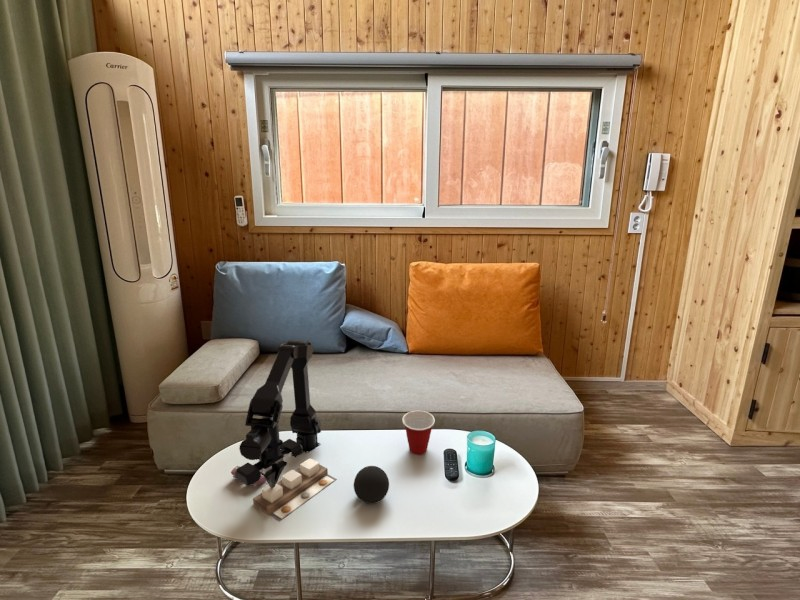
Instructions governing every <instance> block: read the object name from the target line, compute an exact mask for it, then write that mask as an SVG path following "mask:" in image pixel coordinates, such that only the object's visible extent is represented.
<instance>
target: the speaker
mask: <svg viewBox="0 0 800 600" xmlns="http://www.w3.org/2000/svg"><path fill="white" fill-rule="evenodd" d="M389 488H390V479H389V478H388V475H387V472H385V471H384V470H383V469H382V468H380V467H378V466H376V465H367V466H365V467H362V468H361V469H360V470H359V471H358V472H357V474H356V475H355V478H354V480H353V489H354V490H353V491H354V493H355V495H356V497H357V498H358V499H359V500H360V501H361V502H362V503H365V504H370V505H373V504H377V503H379V502H381V501H382V500H383V499H384V498H385V497H386V496H387V495H388V492H389Z"/></svg>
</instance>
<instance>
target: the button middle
mask: <svg viewBox="0 0 800 600" xmlns="http://www.w3.org/2000/svg"><path fill="white" fill-rule="evenodd" d="M281 480H282V485H284V486H285V487H287V488H289V489H290V490H292V489H294V488H295V487H296V486H298V485H299V484H301V483H302V475H301V474H300V473H298V472H296V470H294V469H290V470H288V472H285V473H284V474H283V475H281Z"/></svg>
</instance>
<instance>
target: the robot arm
mask: <svg viewBox="0 0 800 600" xmlns="http://www.w3.org/2000/svg"><path fill="white" fill-rule="evenodd" d="M313 347H314V346H313V344H312V342H311V341H309V340H298V339H289V340H287V342H285V343H281V344H280V345H279V346H278V348H277V354H276V357H275V358H274V362H273V364H272V366H271V369H270V371H269V373H268V376H267V378H266V380H265V383H264V384H262V385H261V386H260V387H259V388H257V389H256V391H255V393H254V394H253V396H252V398H251V399H250V401H249V405H248V410H247V415H246V419H245V423H244V425H245V426H246V427H250V429H251V430H250V431H249V432H247V433H246V434H245V437H244V439H243V440H242V441H241V443H240V444H239V452H240V453H239V454H240V455H241V456H242V457H243V458H245V459H247V460H250V461H256V460H257V462H255V463H254V464H252V463H250V462H246V463H244V464H243V465H241V466H240V467H239V468H237V469H236V470H235V478H234V479H236V480H237V481H239V482H241V483H242V484H244V485H245V486H253V485H252V484H254V483H255V482H257V481H258V480H259V479H260V477H261V476H264V477H265V479H266V483H267V485H269V486H270V487H271V488H273V487H275V485H276V483H277V482H279V481H278V480H279V478H280V476H282V472H283V470H284V469H285V467H286V466H288V462H287V461H285V459H284V458H285V457H286V456H288V455H290V453H291V456H292V457H293V458H297V457H299V456H300V455H302V454H303V453H306V454H307V453H308V454H309V453H310V452H312V451H314V450H315V449H316V448H318V447H319V446H321V443H320V442H318V434H319V433H322V422H321V420H320V419H319V418H317V411H316V409H315V408H314V407H313V406H312V405H311V396H310V385H309V372H308V371H309V370H308V365H309V363H310V361H311V359H312V358H313V353H314V348H313ZM290 370H291V371H292V382H293V384H292V385H293V394H294V395H293V396H294V397H293V398H294V404H295V405H294V406H295V407H294V408H295V409H294V411H293V413H292V414H291V416H290V418H289V419H290V420H289V421H290V423H289V424H290V425H289V426H290V429H291V432H292V434H296V438H295V440H296V441H295V440H293V439H291V438H288V439H286V440H285V441H283V440H282V439H280V429H279V427H280V426H279V422H280V418H281V415H282V410H283V407H284V406H283V401H284V399H283V396H282V392H283V391H282V390H283V388H284V385H285V383H286V381H287V378H288V375H289V373H290ZM254 416H255V417H257V418H255V417H254ZM258 417H260V418H258ZM258 460H259V461H258Z"/></svg>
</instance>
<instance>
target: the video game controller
mask: <svg viewBox="0 0 800 600" xmlns="http://www.w3.org/2000/svg"><path fill="white" fill-rule="evenodd" d="M239 467H241V466H239V465H237V466H235V467H234V468H232V469H231V471H230V474H231V475H232V478H233V479H236V478H235V470H236V469H237V468H239ZM265 483H267V481H266V479H265V477H264V476H263V475H261V477H260V479H259V480H258V481H257V482H255V483H254V484H252V485H251V486H255V485H256V486H262V485H263V484H265Z"/></svg>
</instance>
